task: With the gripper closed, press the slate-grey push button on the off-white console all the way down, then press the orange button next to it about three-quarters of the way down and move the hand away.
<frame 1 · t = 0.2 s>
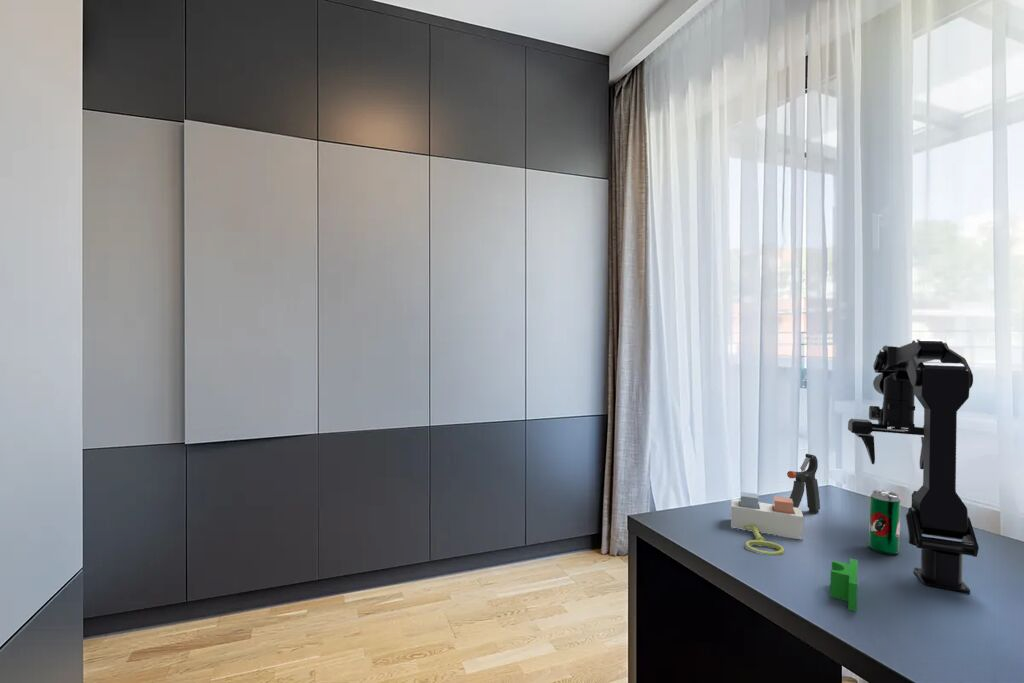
hand: (896, 466, 117), 15 cm above the table, tool pointing down, fingers open, 9 cm apart
soda can: (883, 551, 105), on the table
key: (760, 546, 107), on the table
console: (765, 529, 115), on the table
grey button: (749, 504, 117), point 5 cm above the table, slide at 0.0 cm
pipe clamp: (844, 595, 86), on the table
orange button: (783, 509, 114), point 5 cm above the table, slide at 0.0 cm
hand grip strengthener: (801, 516, 125), on the table
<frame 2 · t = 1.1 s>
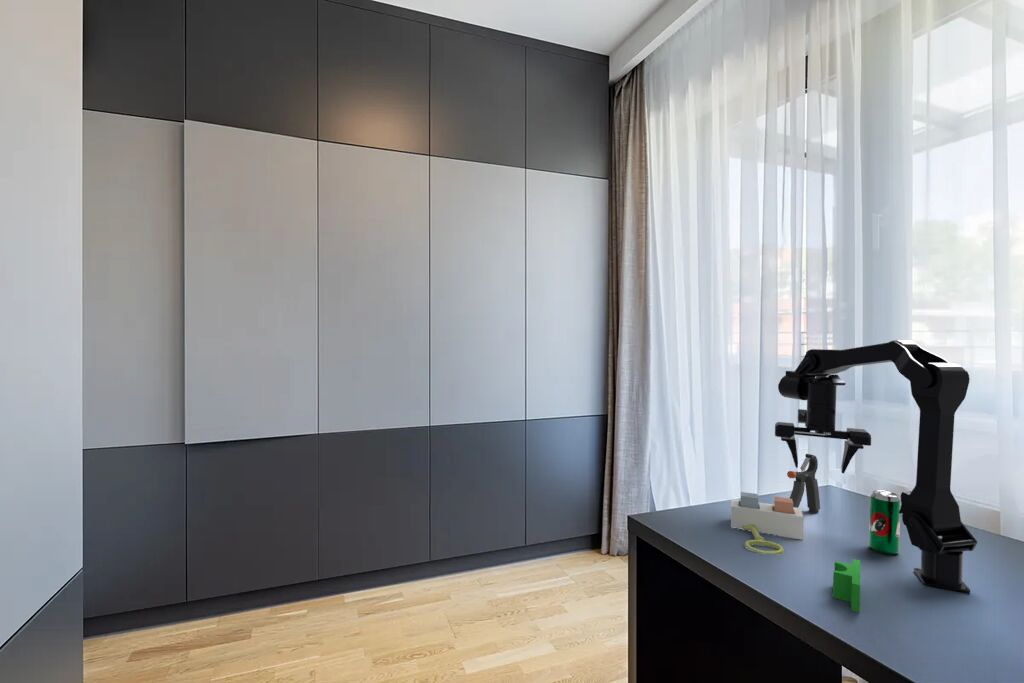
hand: (819, 470, 117), 13 cm above the table, tool pointing down, fingers open, 9 cm apart
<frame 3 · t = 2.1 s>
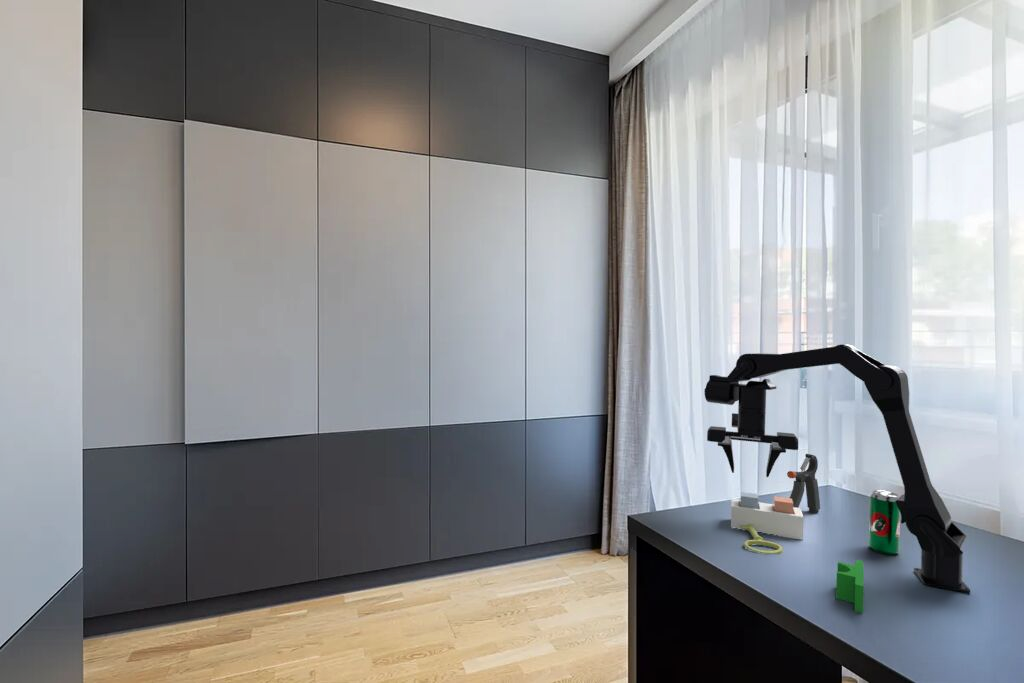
hand: (749, 474, 117), 12 cm above the table, tool pointing down, fingers open, 7 cm apart
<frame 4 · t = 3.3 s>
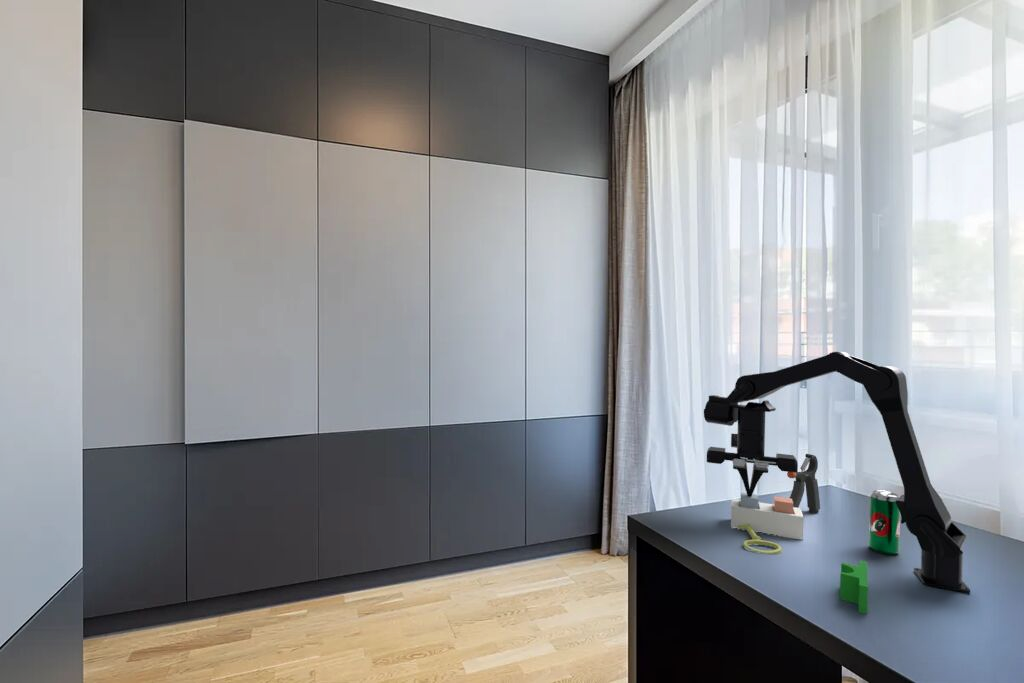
hand: (749, 495, 117), 7 cm above the table, tool pointing down, fingers closed, pressing on grey button
grey button: (749, 505, 117), point 5 cm above the table, slide at 0.2 cm, touching gripper
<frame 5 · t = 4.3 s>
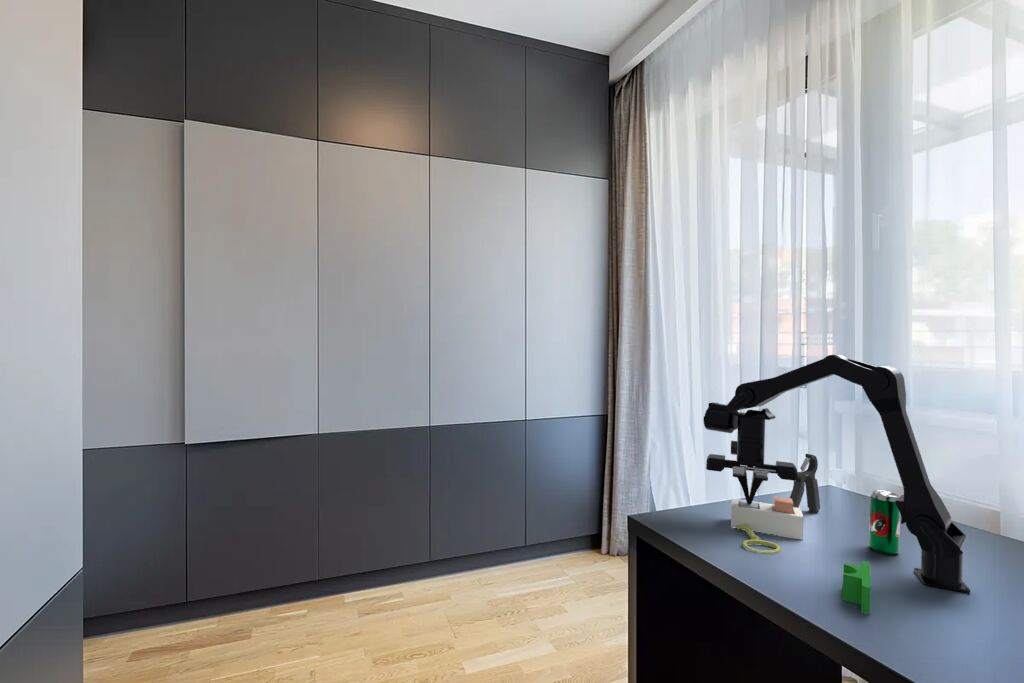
hand: (749, 503, 117), 5 cm above the table, tool pointing down, fingers closed
grey button: (748, 513, 117), point 3 cm above the table, slide at 2.1 cm
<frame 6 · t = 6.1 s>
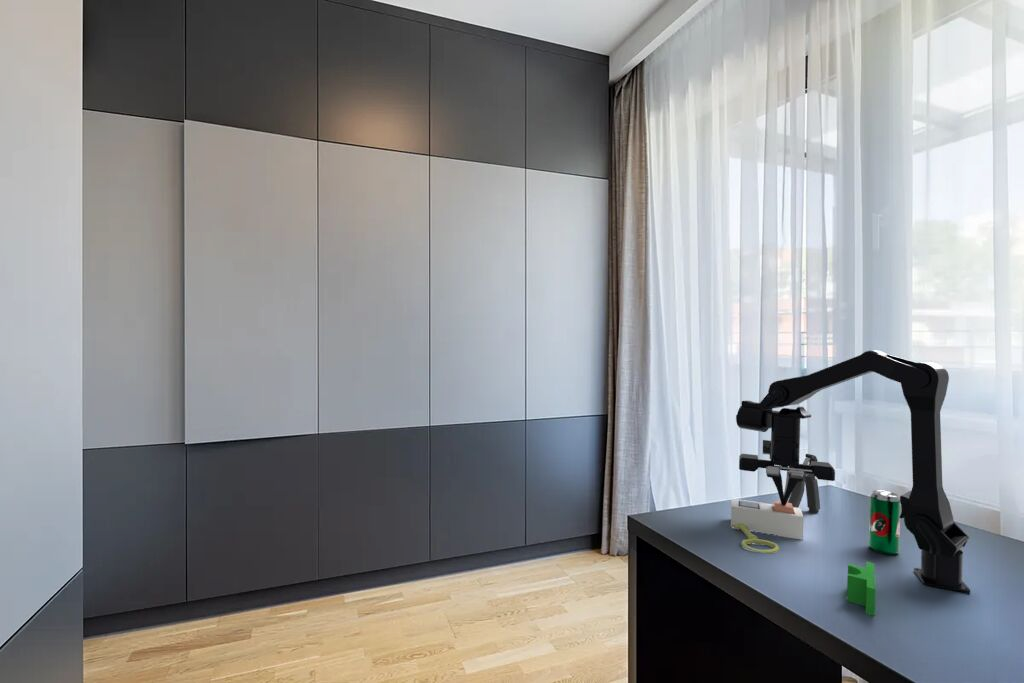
hand: (783, 504, 114), 6 cm above the table, tool pointing down, fingers closed, pressing on orange button
orange button: (783, 514, 114), point 4 cm above the table, slide at 1.1 cm, touching gripper
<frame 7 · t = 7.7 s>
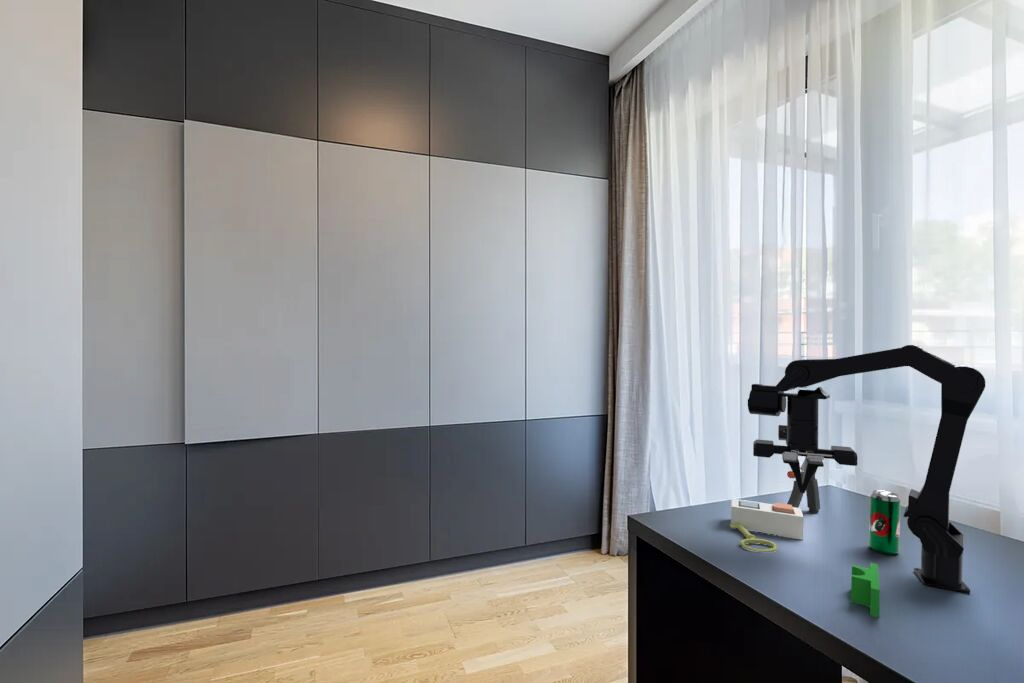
hand: (802, 492, 106), 11 cm above the table, tool pointing down, fingers closed
orange button: (783, 516, 114), point 4 cm above the table, slide at 1.4 cm
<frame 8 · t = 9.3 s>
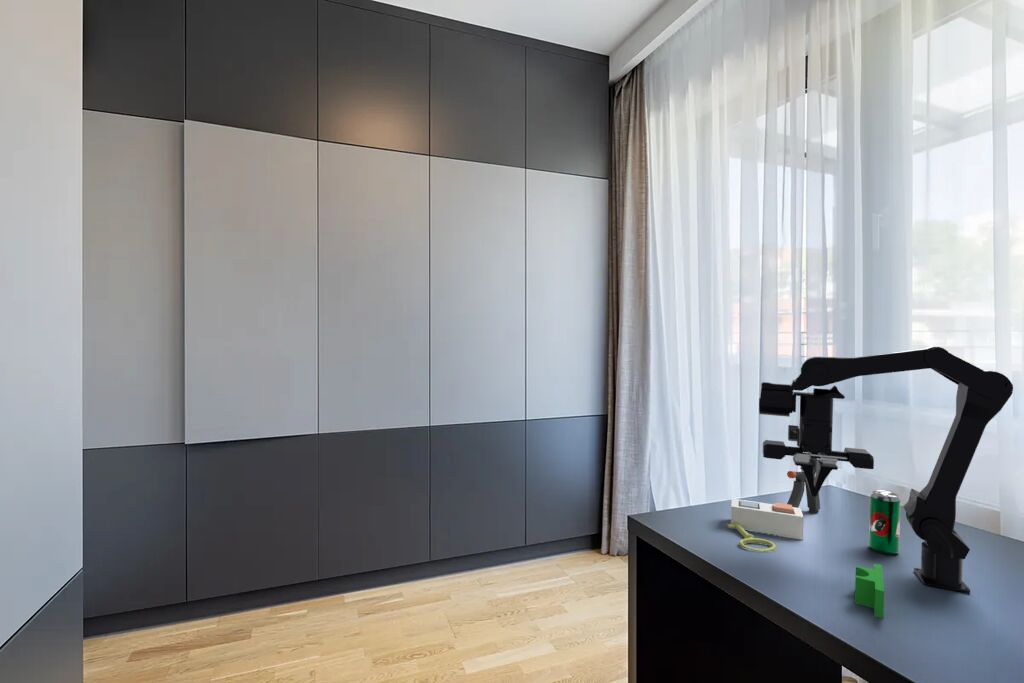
hand: (813, 496, 101), 12 cm above the table, tool pointing down, fingers closed
at the end: grey button slide at 2.1 cm; orange button slide at 1.4 cm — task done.
